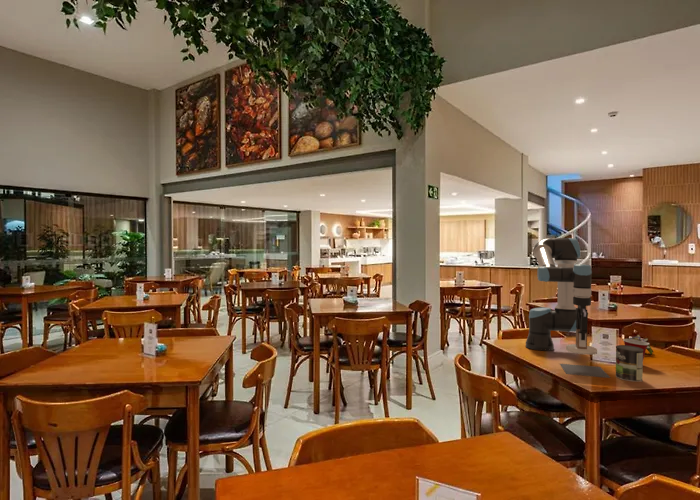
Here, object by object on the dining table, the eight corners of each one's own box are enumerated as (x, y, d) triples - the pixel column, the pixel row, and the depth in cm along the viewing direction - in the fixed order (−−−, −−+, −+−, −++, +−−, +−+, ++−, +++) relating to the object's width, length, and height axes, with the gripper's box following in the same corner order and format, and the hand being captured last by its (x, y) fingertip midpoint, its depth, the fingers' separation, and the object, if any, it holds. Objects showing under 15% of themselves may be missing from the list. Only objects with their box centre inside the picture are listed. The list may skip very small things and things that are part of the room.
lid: (563, 346, 206) (563, 326, 206) (593, 348, 202) (593, 328, 202) (568, 353, 193) (569, 332, 193) (600, 355, 189) (600, 334, 189)
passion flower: (636, 363, 231) (621, 345, 233) (636, 355, 239) (622, 338, 242) (657, 355, 224) (641, 336, 226) (656, 347, 233) (641, 329, 235)
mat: (559, 364, 208) (559, 363, 208) (599, 367, 203) (599, 366, 203) (566, 374, 191) (566, 373, 191) (610, 379, 186) (610, 377, 186)
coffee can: (624, 382, 181) (625, 350, 181) (610, 375, 191) (610, 344, 191) (648, 382, 181) (649, 350, 181) (633, 375, 191) (633, 345, 191)
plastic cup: (653, 368, 203) (653, 343, 203) (628, 366, 205) (628, 342, 205) (642, 362, 214) (642, 339, 213) (619, 360, 216) (619, 337, 216)
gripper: (569, 294, 206) (569, 340, 207) (577, 298, 190) (576, 349, 191) (586, 294, 204) (585, 341, 205) (595, 299, 188) (594, 350, 188)
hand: (581, 345), depth 198 cm, fingers closed on lid, 4 cm apart
